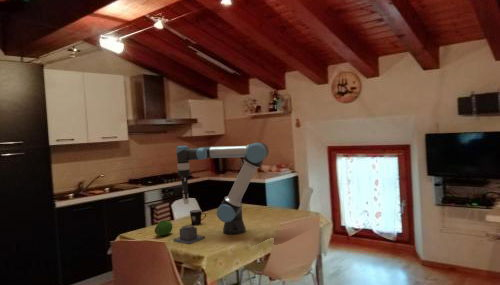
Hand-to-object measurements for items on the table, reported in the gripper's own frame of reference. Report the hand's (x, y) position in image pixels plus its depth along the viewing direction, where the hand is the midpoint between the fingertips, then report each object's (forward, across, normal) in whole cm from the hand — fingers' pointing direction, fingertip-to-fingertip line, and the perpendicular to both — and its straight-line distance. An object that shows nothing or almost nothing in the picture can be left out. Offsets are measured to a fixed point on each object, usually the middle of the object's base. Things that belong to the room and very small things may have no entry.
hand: (185, 202), depth 246 cm
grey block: (+22, +7, 0) cm, 23 cm away
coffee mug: (+23, -32, +9) cm, 40 cm away
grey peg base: (+23, +6, 0) cm, 24 cm away
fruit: (+23, -12, -16) cm, 30 cm away
